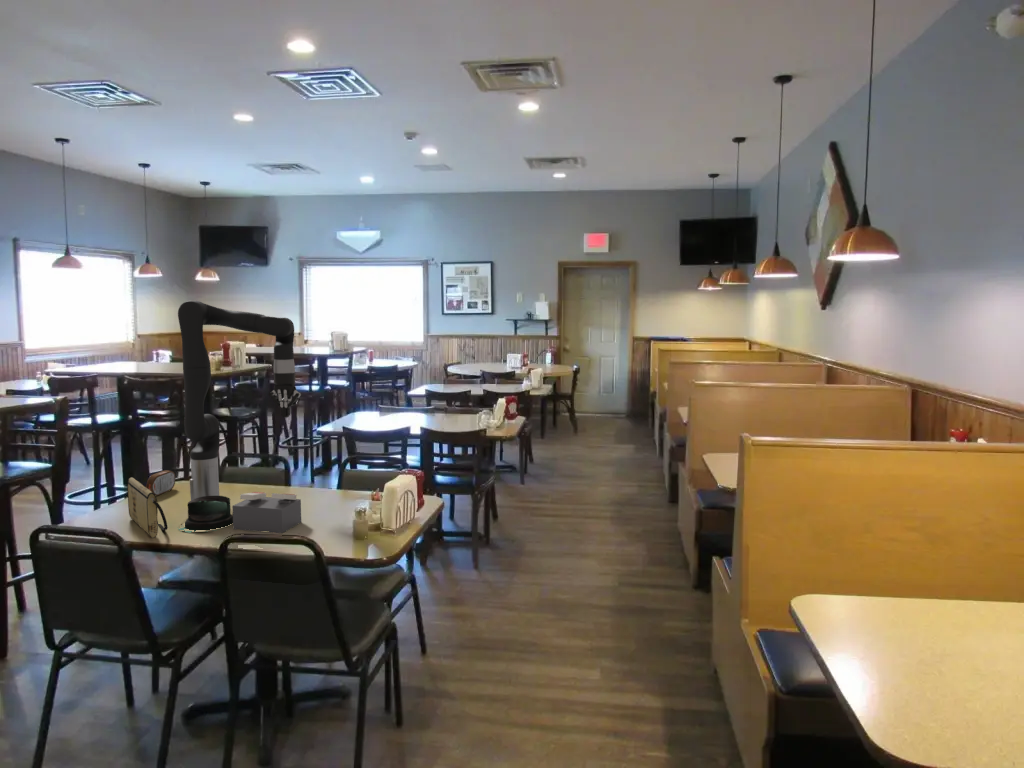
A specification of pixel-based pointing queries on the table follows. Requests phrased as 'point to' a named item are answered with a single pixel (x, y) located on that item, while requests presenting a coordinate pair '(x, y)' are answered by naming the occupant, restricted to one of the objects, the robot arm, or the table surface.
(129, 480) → the clutch purse
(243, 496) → the left rocker
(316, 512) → the table surface
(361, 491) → the table surface
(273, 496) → the right rocker
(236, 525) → the switch box
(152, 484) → the tin
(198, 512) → the dark green hat
